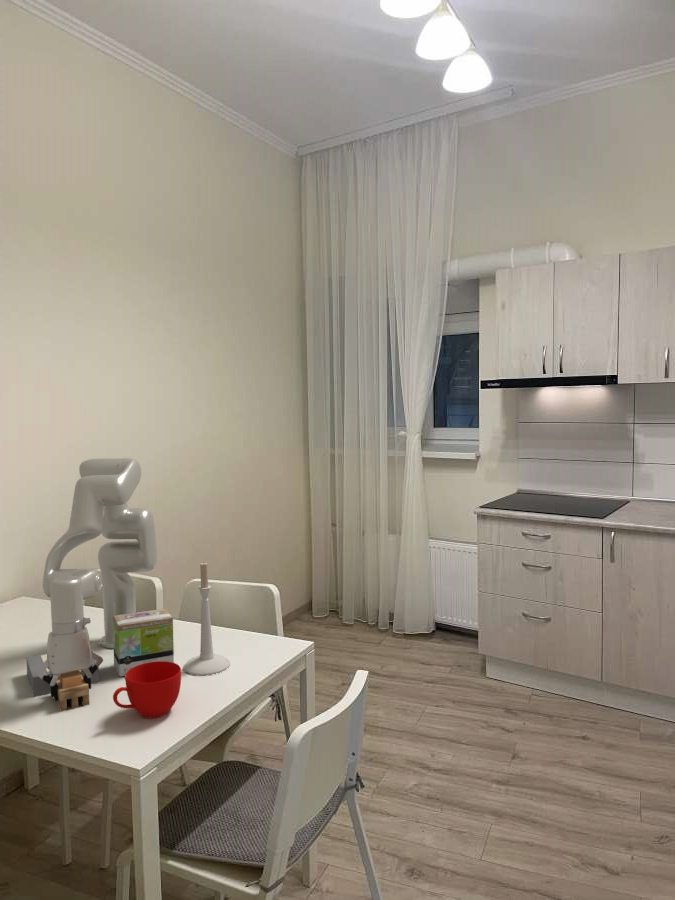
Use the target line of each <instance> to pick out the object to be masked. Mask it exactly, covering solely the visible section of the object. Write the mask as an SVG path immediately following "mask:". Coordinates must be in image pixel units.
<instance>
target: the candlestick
mask: <svg viewBox="0 0 675 900" xmlns="http://www.w3.org/2000/svg"><path fill="white" fill-rule="evenodd" d="M199 566H200V571H199V572H200V585H199V586H198V587H197V588H198V589H199V590H200V591H199V593H200V595H201V600H200V601H201V608H200V616H201V617H200V650H199V651H200V653H199V655H197V656H194V657H192V658H190V659H189V660H187V661H186V662H185V663H184V664H183V671H184V672H185V673H186V672H187V673H186V674H188V673H189V674H188V675H190V674H192V675H191V676H195V675H199V676H198V677H206V675H209V676H213V675H212V674H215V675H217V674H216V673H218V674H221V673H223V672H222V671H224V670H225V671H227V670H228V669H229V668H230V667H231V661H230V660H229V658H227V657H226V656H224V655H221V654H216V653H214V648H213V637H212V636H213V635H212V625H211V624H212V623H211V613H210V602H209V601H210V599H209V598H208V597H209V594H210V589H211V588H212V586H211V585H209V574H208V573H209V570H208V566H209V565H208V563H207V562H201V563H200V565H199ZM229 666H230V667H229ZM227 668H228V669H227ZM226 669H227V670H226ZM225 671H224V672H225ZM220 672H221V673H220Z"/></svg>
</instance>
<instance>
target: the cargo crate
mask: <svg viewBox="0 0 675 900" xmlns="http://www.w3.org/2000/svg"><path fill="white" fill-rule="evenodd" d="M60 684H61V686H62V688H63V689H65V688H70V687H74V686H79V685H82V676H81V674H80V672H79V670H78V671H73V672H69V673H64V674H60Z"/></svg>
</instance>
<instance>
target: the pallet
mask: <svg viewBox="0 0 675 900" xmlns="http://www.w3.org/2000/svg"><path fill="white" fill-rule="evenodd" d="M79 672H80V674H81V676H82V673H81V670H79ZM56 683H57V685H58V701H56V703H57V705H58V707H59V710H60V712H65V711H68V707H67V705H68V703H67V700H68V702H69V704H70V707H71V708H72V709H77V708H79V700H80V701H81V702H80V703H82V705H83V706H82V707H84V706H89V705H90V689H89V685H88V684H86V683H85V681H84V679H83V677H82V685H79V686H74V687H70V688H65V689H63V688H62V686H61V684H60V674H59V676H58V679H57V681H56Z"/></svg>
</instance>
